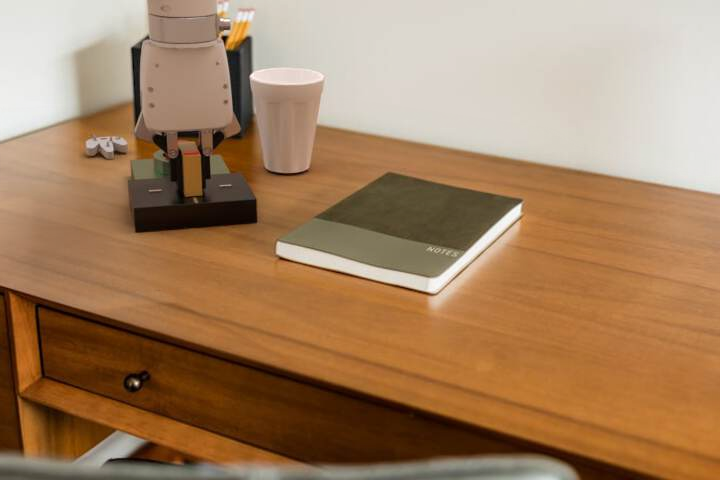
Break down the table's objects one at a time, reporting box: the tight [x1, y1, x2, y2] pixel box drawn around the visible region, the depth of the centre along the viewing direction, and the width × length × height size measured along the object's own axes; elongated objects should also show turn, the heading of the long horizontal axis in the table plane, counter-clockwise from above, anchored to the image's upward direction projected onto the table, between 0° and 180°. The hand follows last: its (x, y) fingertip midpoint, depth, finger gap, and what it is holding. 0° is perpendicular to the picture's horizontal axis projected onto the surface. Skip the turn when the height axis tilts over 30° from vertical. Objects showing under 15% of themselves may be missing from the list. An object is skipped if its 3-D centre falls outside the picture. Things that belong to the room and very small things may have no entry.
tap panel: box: [127, 172, 258, 233], centre depth 108 cm, size 14×10×3 cm
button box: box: [129, 149, 231, 180], centre depth 117 cm, size 12×9×4 cm
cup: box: [249, 67, 325, 174], centre depth 122 cm, size 10×10×13 cm
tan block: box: [178, 141, 202, 197], centre depth 106 cm, size 6×2×5 cm, turn 17°
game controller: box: [85, 133, 129, 160], centre depth 130 cm, size 6×12×3 cm, turn 45°
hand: (190, 184), depth 107 cm, fingers closed on tan block, 2 cm apart
